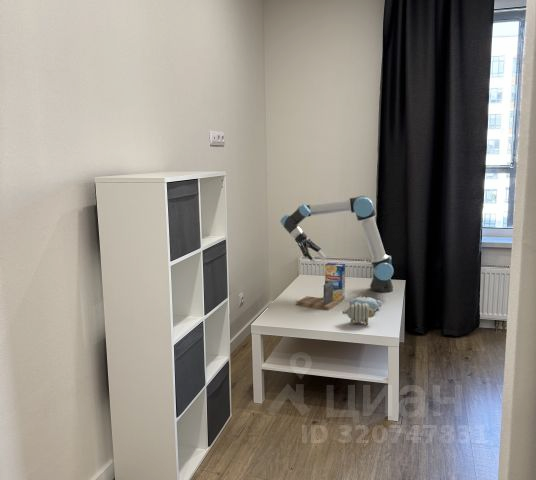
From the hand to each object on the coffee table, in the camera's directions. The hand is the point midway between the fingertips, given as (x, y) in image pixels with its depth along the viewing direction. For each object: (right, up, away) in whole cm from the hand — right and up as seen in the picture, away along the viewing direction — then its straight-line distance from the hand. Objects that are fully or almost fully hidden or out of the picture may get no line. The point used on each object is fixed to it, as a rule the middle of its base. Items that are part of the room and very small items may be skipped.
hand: (320, 261), depth 333 cm
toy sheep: (+16, -32, -48) cm, 59 cm away
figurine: (+24, -28, -24) cm, 44 cm away
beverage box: (+9, -24, -1) cm, 25 cm away
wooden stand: (-3, -26, -13) cm, 29 cm away
